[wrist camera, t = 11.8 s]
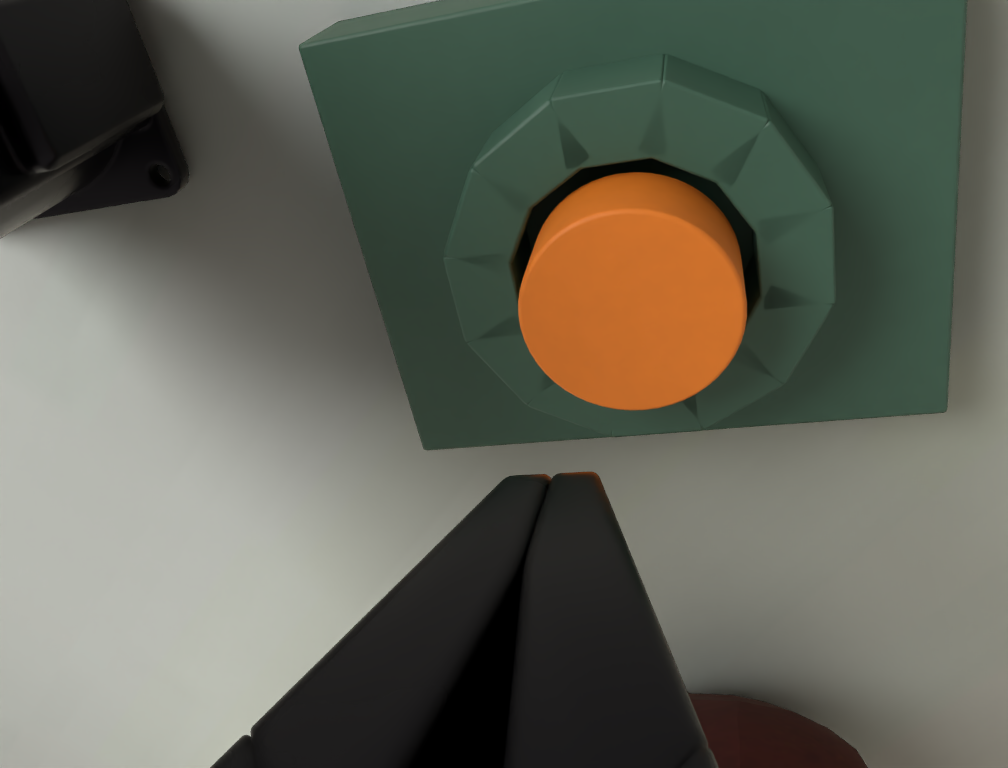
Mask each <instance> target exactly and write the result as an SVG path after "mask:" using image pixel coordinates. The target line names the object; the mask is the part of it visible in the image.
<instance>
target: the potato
mask: <svg viewBox="0 0 1008 768" xmlns="http://www.w3.org/2000/svg"><path fill="white" fill-rule="evenodd" d="M688 695H689V697H690V700H691V702H692V705H693V707H694V710H695V712H696V715H697V717H698V719H699V722H700V724H701V727H702V729H703V732H704V734H705V737H706V739H707V742H708V748H709V749H711V751H712V752H713V755H714V757H715V760H716V762H717V765H718V767H719V768H868V767H867V766H866V764H865V763H864V761H863V760H862V758H861V756H860V755H859V753H858V752H857V750H856V749H855V748H853V747H852V746H851V745H849V744H848V743H847V742H846V741H844V740H843V739H842V738H840V737H839V736H838V735H837V734H835V733H834V732H833V731H831V730H830V729H829V728H826V727H824V726H822V725H820V724H818V723H816V722H814V721H812V720H810V719H807V718H805V717H803V716H801V715H799V714H797V713H795V712H793V711H790V710H787V709H784V708H781V707H778V706H775V705H772V704H769V703H767V702H764V701H759V700H754V699H749V698H744V697H740V696H735V695H717V694H692V693H688Z"/></svg>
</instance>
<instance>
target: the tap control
mask: <svg viewBox="0 0 1008 768" xmlns="http://www.w3.org/2000/svg"><path fill="white" fill-rule="evenodd" d="M966 17H967V0H439V1H435V2H430V3H425V4H420V5H415V6H411V7H406V8H401V9H396V10H391V11H387V12H382V13H377V14H372V15H367V16H362V17H358V18H353V19H348V20H343V21H339V22H337V23H335V24H334V25H332V26H330V27H329V28H327V29H325V30H323V31H322V32H320V33H318V34H317V35H315V36H313V37H312V38H310V39H308V40H307V41H305V42H303V43H302V44H300V45H299V51H300V54H301V57H302V60H303V64H304V67H305V70H306V73H307V76H308V80H309V83H310V86H311V89H312V92H313V96H314V99H315V102H316V105H317V108H318V112H319V115H320V118H321V121H322V124H323V128H324V131H325V134H326V137H327V140H328V144H329V147H330V150H331V153H332V157H333V160H334V163H335V166H336V169H337V173H338V176H339V179H340V182H341V185H342V189H343V192H344V195H345V198H346V201H347V205H348V208H349V211H350V214H351V217H352V221H353V224H354V227H355V230H356V234H357V237H358V240H359V243H360V246H361V250H362V253H363V256H364V259H365V262H366V266H367V269H368V272H369V275H370V278H371V282H372V285H373V288H374V291H375V294H376V298H377V301H378V304H379V307H380V311H381V314H382V317H383V320H384V323H385V327H386V330H387V333H388V336H389V339H390V343H391V346H392V349H393V352H394V355H395V359H396V362H397V365H398V368H399V371H400V375H401V378H402V381H403V384H404V388H405V391H406V394H407V397H408V400H409V404H410V407H411V410H412V413H413V416H414V420H415V423H416V426H417V429H418V432H419V436H420V439H421V442H422V445H423V448H424V450H438V449H452V448H466V447H479V446H493V445H507V444H521V443H534V442H548V441H562V440H575V439H589V438H603V437H623V436H636V435H650V434H664V433H677V432H691V431H701V430H713V429H726V428H740V427H754V426H767V425H781V424H795V423H809V422H822V421H836V420H850V419H863V418H877V417H891V416H905V415H918V414H932V413H944V412H946V410H947V407H948V387H949V366H950V346H951V325H952V305H953V284H954V263H955V243H956V222H957V202H958V181H959V161H960V140H961V120H962V99H963V78H964V58H965V37H966ZM629 172H645V173H654V174H660V175H665V176H668V177H671V178H675V179H678V180H680V181H682V182H684V183H686V184H689V185H691V186H692V187H694V188H696V189H697V190H699V191H700V192H702V193H703V194H704V195H706V196H707V197H708V198H709V199H710V200H712V201H713V202H714V203H715V204H716V205H717V207H718V208H719V209H720V210H721V211H722V212H723V214H724V215H725V217H726V218H727V219H728V221H729V222H730V224H731V226H732V228H733V230H734V232H735V235H736V237H737V241H738V244H739V247H740V253H741V259H742V267H743V275H744V283H745V291H746V299H747V320H746V327H745V331H744V335H743V338H742V341H741V344H740V346H739V348H738V350H737V352H736V354H735V356H734V357H733V359H732V360H731V362H730V363H729V365H728V366H727V367H726V369H725V370H724V371H723V372H722V373H721V374H720V375H719V377H717V378H716V379H715V380H714V381H713V382H712V383H711V384H710V385H708V386H707V387H706V388H704V389H703V390H701V391H700V392H698V393H697V394H695V395H693V396H691V397H689V398H687V399H685V400H683V401H680V402H677V403H675V404H672V405H669V406H665V407H661V408H655V409H648V410H620V409H613V408H608V407H603V406H599V405H596V404H593V403H590V402H587V401H585V400H583V399H580V398H578V397H576V396H574V395H573V394H571V393H569V392H567V391H566V390H564V389H563V388H562V387H560V386H559V385H558V384H556V383H555V382H554V381H553V380H552V379H551V378H550V377H549V376H547V375H546V374H545V372H544V371H543V370H542V369H541V368H540V366H539V365H538V364H537V363H536V361H535V359H534V358H533V356H532V355H531V353H530V351H529V349H528V347H527V345H526V343H525V341H524V338H523V335H522V331H521V328H520V322H519V316H518V299H519V292H520V287H521V283H522V280H523V276H524V273H525V271H526V268H527V265H528V262H529V259H530V256H531V254H532V251H533V248H534V245H535V242H536V239H537V237H538V234H539V232H540V230H541V228H542V226H543V224H544V222H545V221H546V219H547V218H548V216H549V215H550V213H551V212H552V211H553V210H554V209H555V207H556V206H557V205H558V204H559V203H560V202H561V201H562V200H563V199H565V198H566V197H567V196H568V195H569V194H571V193H572V192H574V191H575V190H577V189H578V188H580V187H581V186H583V185H585V184H587V183H589V182H591V181H594V180H597V179H599V178H602V177H605V176H609V175H614V174H619V173H629Z"/></svg>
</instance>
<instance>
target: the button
mask: <svg viewBox="0 0 1008 768" xmlns="http://www.w3.org/2000/svg"><path fill="white" fill-rule="evenodd" d="M518 316H519V322H520V328H521V331H522V335H523V338H524V341H525V343H526V345H527V347H528V349H529V351H530V353H531V355H532V356H533V358H534V359H535V361H536V363H537V364H538V365H539V366H540V368H541V369H542V370H543V371H544V372H545V374H546V375H547V376H549V377H550V378H551V379H552V380H553V381H554V382H555V383H556V384H558V385H559V386H560V387H562V388H563V389H564V390H566V391H567V392H569V393H571V394H573V395H574V396H576V397H578V398H580V399H583V400H585V401H587V402H590V403H593V404H596V405H599V406H603V407H608V408H613V409H620V410H648V409H655V408H661V407H665V406H669V405H672V404H675V403H677V402H680V401H683V400H685V399H687V398H689V397H691V396H693V395H695V394H697V393H698V392H700V391H701V390H703V389H704V388H706V387H707V386H708V385H710V384H711V383H712V382H713V381H714V380H715V379H716V378H717V377H719V375H720V374H721V373H722V372H723V371H724V370H725V369H726V367H727V366H728V365H729V363H730V362H731V360H732V359H733V357H734V356H735V354H736V352H737V350H738V348H739V346H740V344H741V341H742V338H743V335H744V331H745V327H746V320H747V299H746V291H745V283H744V275H743V267H742V259H741V253H740V247H739V244H738V241H737V237H736V235H735V232H734V230H733V228H732V226H731V224H730V222H729V221H728V219H727V218H726V217H725V215H724V214H723V212H722V211H721V210H720V209H719V208H718V207H717V205H716V204H715V203H714V202H713V201H712V200H710V199H709V198H708V197H707V196H706V195H704V194H703V193H702V192H700V191H699V190H697V189H696V188H694V187H692V186H691V185H689V184H686V183H684V182H682V181H680V180H678V179H675V178H671V177H668V176H665V175H660V174H654V173H645V172H629V173H619V174H614V175H609V176H605V177H602V178H599V179H597V180H594V181H591V182H589V183H587V184H585V185H583V186H581V187H580V188H578V189H577V190H575V191H574V192H572V193H571V194H569V195H568V196H567V197H566V198H565V199H563V200H562V201H561V202H560V203H559V204H558V205H557V206H556V207H555V209H554V210H553V211H552V212H551V213H550V215H549V216H548V218H547V219H546V221H545V222H544V224H543V226H542V228H541V230H540V232H539V234H538V237H537V239H536V242H535V245H534V248H533V251H532V254H531V256H530V259H529V262H528V265H527V268H526V271H525V273H524V276H523V280H522V283H521V287H520V292H519V299H518Z"/></svg>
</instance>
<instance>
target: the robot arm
mask: <svg viewBox="0 0 1008 768" xmlns="http://www.w3.org/2000/svg"><path fill="white" fill-rule="evenodd" d="M163 101H164V95H163V92H162V90H161V87H160V84H159V82H158V79H157V77H156V74H155V72H154V69H153V67H152V64H151V62H150V59H149V57H148V54H147V52H146V49H145V46H144V44H143V41H142V39H141V36H140V34H139V31H138V29H137V26H136V24H135V21H134V19H133V16H132V14H131V11H130V8H129V6H128V3H127V1H126V0H0V239H1V238H3V237H4V236H6V235H7V234H9V233H11V232H12V231H14V230H15V229H17V228H19V227H20V226H22V225H24V224H25V223H27V222H28V221H30V220H32V219H36V218H42V217H48V216H54V215H61V214H67V213H73V212H79V211H85V210H92V209H98V208H104V207H110V206H116V205H122V204H129V203H135V202H141V201H147V200H153V199H159V198H166V197H170V196H172V195H174V194H176V193H177V192H179V191H180V190H182V189H183V188H184V187H185V186H186V184H187V183H188V180H189V175H190V174H189V169H188V165H187V163H186V160H185V158H184V155H183V153H182V150H181V148H180V145H179V143H178V140H177V138H176V135H175V133H174V130H173V127H172V125H171V122H170V120H169V117H168V115H167V112H166V110H165V107H164V105H163ZM157 164H160V165H162V166H163V167H165V168H166V169H167V170H168V172H169V173H170V179H171V180H166V179H165V178H163V177H162V176H161V175H160V173H159V172H158V168H157ZM210 768H719V767H718V765H717V762H716V760H715V757H714V755H713V752H712V751H711V749H709V748H708V742H707V739H706V737H705V734H704V732H703V729H702V727H701V724H700V722H699V719H698V717H697V715H696V712H695V710H694V707H693V705H692V702H691V700H690V697H689V695H688V693H687V690H686V688H685V685H684V683H683V680H682V678H681V675H680V673H679V671H678V668H677V666H676V663H675V661H674V658H673V656H672V653H671V651H670V649H669V646H668V644H667V641H666V639H665V636H664V634H663V631H662V629H661V627H660V624H659V622H658V619H657V617H656V614H655V612H654V609H653V607H652V605H651V602H650V600H649V597H648V595H647V592H646V590H645V587H644V585H643V583H642V580H641V578H640V575H639V573H638V570H637V568H636V565H635V563H634V560H633V558H632V556H631V553H630V551H629V548H628V546H627V543H626V541H625V538H624V536H623V534H622V531H621V529H620V526H619V524H618V521H617V519H616V516H615V514H614V512H613V509H612V507H611V504H610V502H609V499H608V497H607V494H606V492H605V490H604V487H603V485H602V482H601V480H600V478H599V476H598V475H597V474H596V473H594V472H575V473H559V474H556V475H555V476H553V478H552V479H551V478H550V477H549V476H548V475H546V474H535V475H515V476H509V477H507V478H505V479H504V480H502V481H501V482H500V483H499V484H498V485H497V486H496V487H495V488H494V489H493V490H492V491H491V492H490V493H489V494H488V495H487V496H486V497H485V498H484V499H483V500H482V501H481V502H480V503H479V504H478V505H477V506H476V507H475V508H474V509H473V510H472V511H471V512H470V513H469V514H468V515H467V516H466V517H465V518H464V519H463V520H462V521H461V522H460V523H459V524H458V525H457V526H456V527H455V528H454V529H453V530H452V531H451V532H450V533H449V534H447V535H446V536H445V537H444V538H443V539H442V540H441V541H440V542H439V543H438V544H437V545H436V546H435V547H434V548H433V549H432V550H431V551H430V552H429V553H428V554H427V555H426V556H425V557H424V558H423V559H422V560H421V561H420V562H419V563H418V564H417V565H416V566H415V567H414V568H413V569H412V570H411V571H410V572H409V573H408V574H407V575H406V576H405V577H404V578H403V579H402V580H401V581H400V582H399V583H398V584H397V585H396V586H395V587H394V588H393V589H392V590H391V591H390V592H389V593H388V594H387V595H386V596H385V597H384V598H383V599H381V600H380V601H379V602H378V603H377V604H376V605H375V606H374V607H373V608H372V609H371V610H370V611H369V612H368V613H367V614H366V615H365V616H364V617H363V618H362V619H361V620H360V621H359V622H358V623H357V624H356V625H355V626H354V627H353V628H352V629H351V630H350V631H349V632H348V633H347V634H346V635H345V636H344V637H343V638H342V639H341V640H340V641H339V642H338V643H337V644H336V645H335V646H334V647H333V648H332V649H331V650H330V651H329V652H328V653H327V654H326V655H325V656H324V657H323V658H322V659H321V660H320V661H319V662H318V663H317V664H316V665H314V666H313V667H312V668H311V669H310V670H309V671H308V672H307V673H306V674H305V675H304V676H303V677H302V678H301V679H300V680H299V681H298V682H297V683H296V684H295V685H294V686H293V687H292V688H291V689H290V690H289V691H288V692H287V693H286V694H285V695H284V696H283V697H282V698H281V699H280V700H279V701H278V702H277V703H276V704H275V705H274V706H273V707H272V708H271V709H270V710H269V711H268V712H267V713H266V714H265V715H264V716H263V717H262V718H261V719H260V720H259V721H258V722H257V723H256V724H255V725H254V726H253V727H252V728H251V737H250V736H248V735H244V736H242V737H241V738H240V739H239V740H238V741H237V742H236V743H235V744H234V745H233V746H232V747H231V748H230V749H229V750H228V751H227V752H226V753H225V754H224V755H223V756H222V757H221V758H220V759H219V760H218V761H217V762H216V763H215V764H213V765H212V766H211V767H210Z"/></svg>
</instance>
